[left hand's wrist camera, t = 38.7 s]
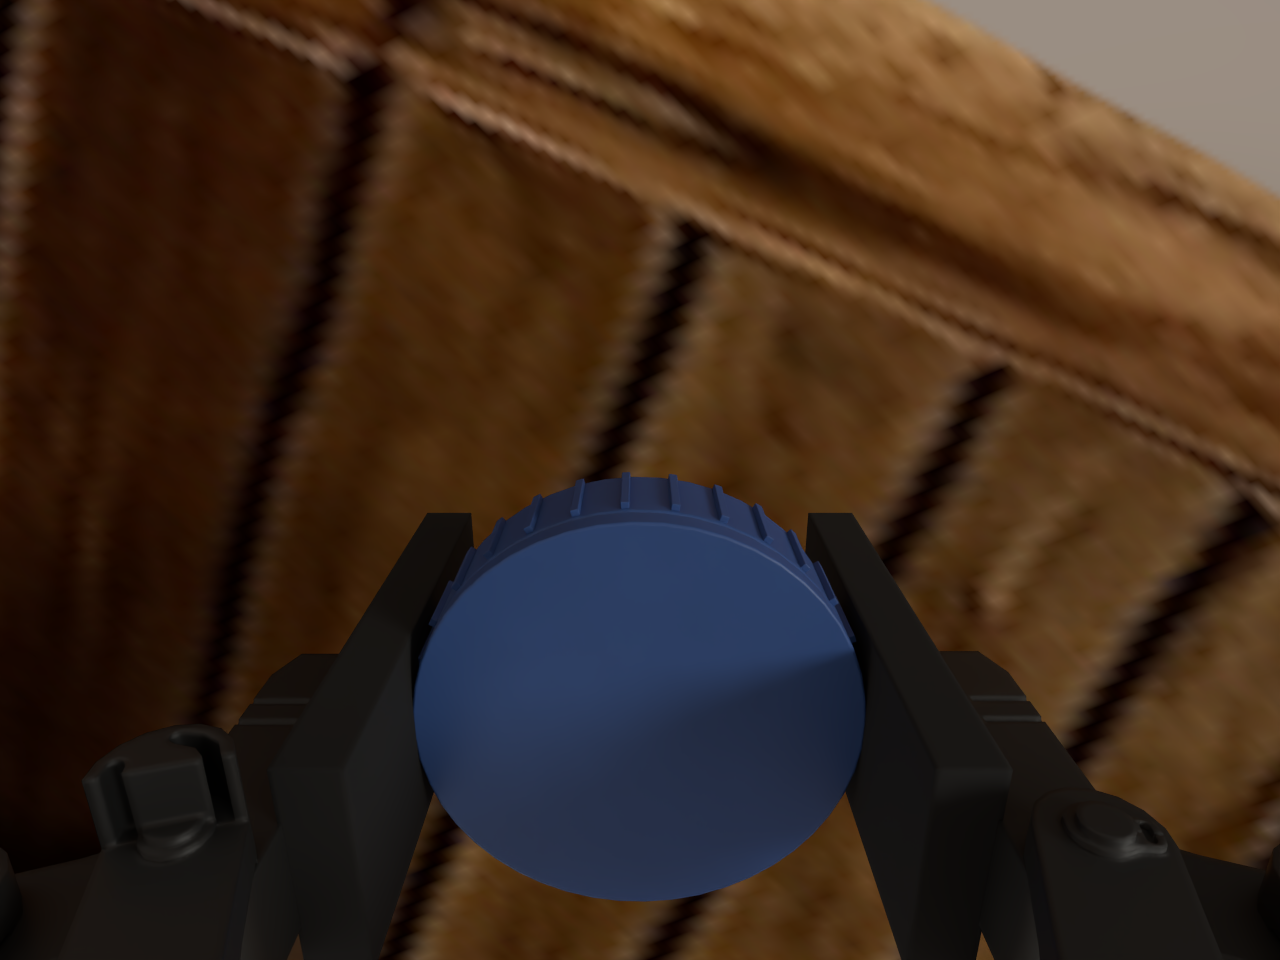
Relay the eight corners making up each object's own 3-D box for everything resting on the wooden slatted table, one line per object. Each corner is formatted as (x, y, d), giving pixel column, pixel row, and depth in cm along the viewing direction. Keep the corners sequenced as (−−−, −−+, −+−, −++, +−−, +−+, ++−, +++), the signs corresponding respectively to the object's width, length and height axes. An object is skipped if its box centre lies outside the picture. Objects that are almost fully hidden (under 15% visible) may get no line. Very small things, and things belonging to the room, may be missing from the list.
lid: (670, 381, 11) (675, 415, 9) (922, 685, 12) (962, 757, 11) (348, 636, 12) (306, 703, 10) (615, 881, 14) (611, 969, 12)
